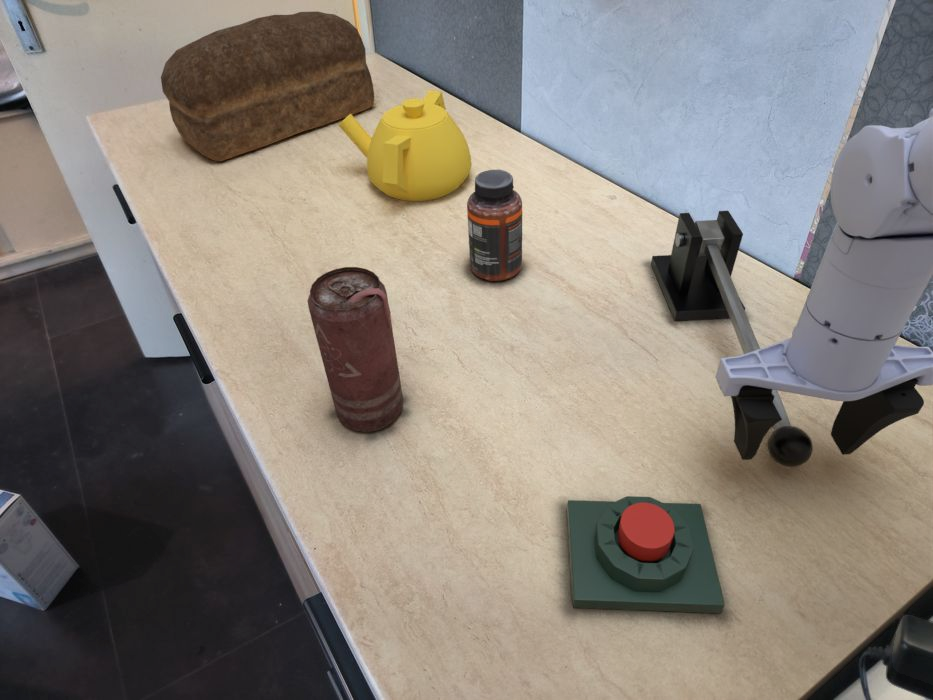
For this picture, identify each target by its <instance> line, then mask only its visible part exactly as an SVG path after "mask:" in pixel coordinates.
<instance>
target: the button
mask: <svg viewBox="0 0 933 700" xmlns="http://www.w3.org/2000/svg"><path fill="white" fill-rule="evenodd" d="M674 530H675V528H674V523H673V521H672V519H671V517H670V516H669V514H668V513H667V512H666V511H665V510H663V509H662V508H660V507H658V506H656V505H654V504H651V503H636V504H633V505H631V506H629V507H628V508H626V509H625V511H624V512H623V514H622V516H621V520H620V525H619V529H618V540H619V543H620V545H621V547H622V548H623V550H624V551H625V552H626V553H627V554H629V555H630V556H631V557H633V558H635V559H638V560H641V561H656V560H659V559H661V558H662V557H664V556H665V555H666V554H667V552H668V551H669V548H670V545H671V542H672V539H673V536H674Z"/></svg>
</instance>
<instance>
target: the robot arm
mask: <svg viewBox="0 0 933 700" xmlns="http://www.w3.org/2000/svg"><path fill="white" fill-rule="evenodd" d="M928 116H929V117H928V118H925V119H923V120H921V121H919V122H918V123H916V124H914V125H913V126H911V127H910V126H909V127H893V128H892V127H889V126H886V125H880V124H879V125H878V124H877V125H875V124H873V125H865V126H863V127H862V128H861V129H860V130H859V131H858V132H857V133H856V134H854V135H853V136H851V137H850V138H849V139H848V140H847V141H846V143H845V144H844V145H843V146H842V148H841V150H840V152H839V153H838V156H837V158H836V159H835V163H834V166H833V170H832V174H831V181H830V204H831V209H832V210H831V211H832V214H833V216H834V218H835V221H836V222H835V226H834V228H833V230H832V233H831V236H830V238H829V241H828V243H827V246H826V249H825V251H824V253H823V256H822V259H821V261H820V263H819V266H818V269H817V271H816V273H815V277H814V278H813V281H812V284H811V286H810V289H809V291H808V294H807V296H806V297H807V298H806V299H805V302H804V304H803V306H802V310H801V312H800V315H799V317H798V320H797V322H796V324H795V325H794V327H793V329H792V332H791V337H790V338H787V339H784V340H781V341H779V342H776V343H773V344H769V345H767V346H764V347H761V348H760V349H758V350H755V351H752V352H749V353H747V354H744V353H743V354H740V355H735V356H728V357H721V358H720V360H719V363H718V367H717V370H716V373H715V376H714V377H715V380H716V382H717V384H718V387H719V389H720V391H721V393H722V396H723V397H730V398H731V402H732V408H733V417H734V418H733V419H734V434H733V443H734V445H735V448H736V449H737V451H738V454H739V456H740V459H741V460H742V461H751V460H753V458H755V456H756V455H757V453H758V451H759V448H760V446H761V444H762V442H763V440H764V438H765V437H766V436H767V433H768V432H769V431H770V430H771V429H773V428H772V427H773V426H774V425H775V424H776V423H778V422H779V421H781V420H782V418H781V417H780V415H779V413H778V411H777V409H776V407H775V405H774V403H773V400H774V395H773V394H772V390H777V391H780V392H784V393H790V394H795V395H800V396H805V397H812V398H817V399H822V400H829V401H835V402H842V404H841V406H840V408H839V409H838V413H837V414H836V416H835V419H834V420H833V423H832V428H831V431H830V437H831V438H832V440H833V441H834V443H835V445H836V447H837V448H838V450H839V451H840V453H841V455H842V456H844V455H851V454H852V453H854V452H855V451H857V450H858V449H859V448H860V447H862V445H864V444H865V443H866V442H867V441H868V440H870V439H871V438H872V437H874V436H875V435H877V434H878V433H879V432H881V431H882V430H884V429H886V428H887V427H888V426H890V425H892V424H895V423H897V422H899V421H901V420H904V419H905V418H909V417H911V416H915V415H918V414H919V413H920V411H921V409H922V408H923V406H924V404H925V401H924V398H923V397H922V395H921V394H920V392H919V391H918V390H917V388H916V386H920V387H927V386H933V350H932V349H931V347H929V346H910V345H902V344H901V345H900V344H896V343H897V341H898V340H899V338H900V336H901V334H902V332H903V330H904V328H905V327H906V325H907V323H908V321H909V320H910V317H911V316H912V313H913V312H914V310H915V308H916V306H917V304H918V302H919V301H920V299H921V297H922V295H923V293H924V291H925V289H926V288H927V286H928V284H929V282H930V280H931V278H932V277H933V107H932V108H931V109H930V110H929V113H928Z"/></svg>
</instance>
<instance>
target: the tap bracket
mask: <svg viewBox="0 0 933 700" xmlns="http://www.w3.org/2000/svg"><path fill="white" fill-rule="evenodd" d="M716 220H717V221H718V224H719V226H720V228H721V231H722V233H723V236H724V238H725V239H724V242H723V244H722V247H721V250H720V252H721V254H722V257H723V259H724V262H725V264H726V267H727V269H728V272H729V274H730V276H731V277H732V274H733V271H734V268H735V263H736V261H737V257H738V254H739V250H740V247H741V243H742V240H743V236H744V232H743V231H742V230H741V228H740V227H739V225H738V223H737V222H736V220H735V218H734V217H733V215H732V213H731V212H730V211H729V210H718V213H717V217H716ZM701 238H702V235H701V233H700V232H699V230H698V228H697V226H696V224H695V221H694V219H693V216H692V215H691V213H690V212H679V215H678V219H677V225H676V228H675V234H674V239H673V244H672V249H671V254H667V255H666V254H665V255H652V257H651V262H650V266H651V268H652V271H653V273H654V276H655V277H656V280H657V283H658V285H659V287H660V289H661V292H662V294H663V296H664V297H663V298H664V299H665V301H666V304H667V306H668V308H669V311H670V313H671V315H672V318H673V320H674V321H675V322H681V321H698V320H714V319H716V320H717V319H730V317H729V314H728V312H727V309H726V307H725V304H724V301H723V299H722V296H721V294H720V291H719V288H718V286H717V283H716V281H715V278H714V276H713V273H712V270H711V268H710V265H709V263H708V260H707V257H697V255H698V251H699V246H700V242H701ZM740 301H741V303H742V306H743V308H744V311H745V312H746V307H745V305H744V303H743V302H742V300H741V299H740Z"/></svg>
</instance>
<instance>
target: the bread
mask: <svg viewBox="0 0 933 700" xmlns="http://www.w3.org/2000/svg"><path fill="white" fill-rule="evenodd" d="M358 30H359V29H358V28H357V27H356V26H355V25H353V24H352V23H351V22H350V21H349V20H347V19H345V18H344V17H343V18H342V17H340V16H338V15H336V14H335V13H325V12H322V11H318V10H317V11H299V12H295V13H292V14H270V15H266V16H262V17H257V18H253V19H252V20H249V21H245V22H243V23H241V24H237V25H233V26H228V27H225V28H221V29H218V30H215V31H212V32H211V33H209V34H207V35H204V36H202V37H200V38H199V39H196V40H194V41H192V42H190V43H188V44H185V45H184V46H182V47H180V48H178V49H176V50H175V52H173V53H172V55H171V56H170V57H169V58H168V59H167V60H166V61H165V63H164V66H163V69H162V72H161V76H160V81H161V89H162V93H163V94H164V96H165V97H166V99H167V101H168V105H169V112H170V116H171V120H172V122H173V124H174V126H175V127H176V130H177V132H178V133H179V135H180V137H181V138H182V139H183V141H185V142H186V143H188V145H190V146H191V147H192V148H193V149H195V150H196V151H197V152H199V153H200V154H201V155H202V156H204V157H205V158H207V159H210V160H212V161H214V162H223V161H226V160H230V159H232V158H234V157H237V156H239V155H242V154H246V153H248V152H251V151H254V150H257V149H260V148H263V147H266V146H269V145H271V144H274V143H276V142H279V141H281V140H284V139H286V138H289V137H293V136H294V135H297V134H299V133H302V132H305V131H308V130H312V129H315V128H318V127H322V126H325V125H327V124H330V123H333V122H336V121H338V120H342V119H345V118H346V117H347V116H348V115H350V114H351V115H352V116H354V115H355V114H358V113H360V112H363V111H365V110H368V109H370V108H371V107H373V106H374V105H375V91H374V84H373V80H372V75H371V72H370V69H369V67H368V64H367V57H366V56H367V55H366V47H365V44H364V41H363V39H362V36H361V35H360V33H359V31H358Z"/></svg>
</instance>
